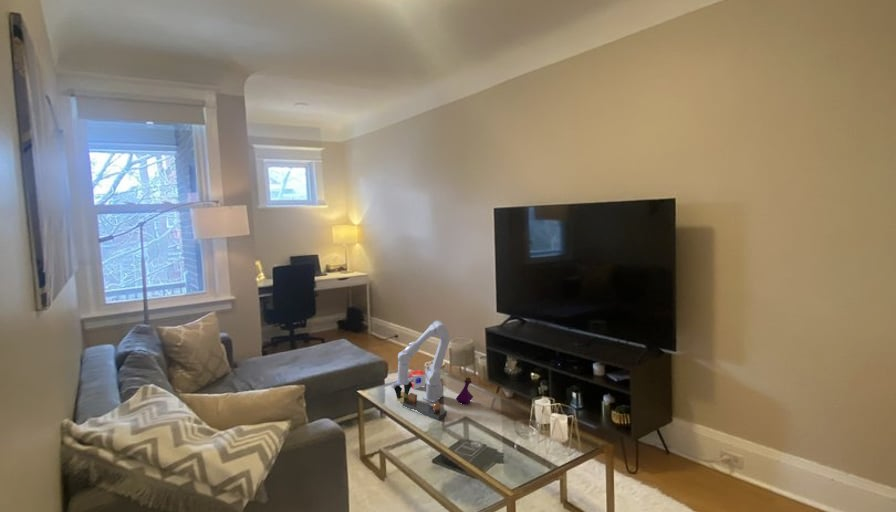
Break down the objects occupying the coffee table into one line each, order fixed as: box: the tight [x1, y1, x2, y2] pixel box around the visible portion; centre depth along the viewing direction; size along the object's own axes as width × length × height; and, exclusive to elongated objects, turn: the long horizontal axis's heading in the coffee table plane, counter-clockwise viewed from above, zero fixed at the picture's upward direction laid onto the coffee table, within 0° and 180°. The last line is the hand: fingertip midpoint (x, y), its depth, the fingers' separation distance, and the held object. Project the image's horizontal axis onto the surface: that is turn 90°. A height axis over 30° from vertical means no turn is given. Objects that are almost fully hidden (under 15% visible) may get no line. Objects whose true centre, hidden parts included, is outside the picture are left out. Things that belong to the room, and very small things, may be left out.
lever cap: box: [396, 391, 409, 404], centre depth 260 cm, size 4×6×4 cm, turn 45°
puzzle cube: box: [408, 369, 427, 390], centre depth 282 cm, size 8×8×8 cm
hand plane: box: [402, 392, 448, 421], centre depth 249 cm, size 7×24×7 cm, turn 55°
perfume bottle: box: [455, 371, 474, 405], centre depth 260 cm, size 8×8×18 cm
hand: (402, 396), depth 261 cm, fingers open, 5 cm apart
